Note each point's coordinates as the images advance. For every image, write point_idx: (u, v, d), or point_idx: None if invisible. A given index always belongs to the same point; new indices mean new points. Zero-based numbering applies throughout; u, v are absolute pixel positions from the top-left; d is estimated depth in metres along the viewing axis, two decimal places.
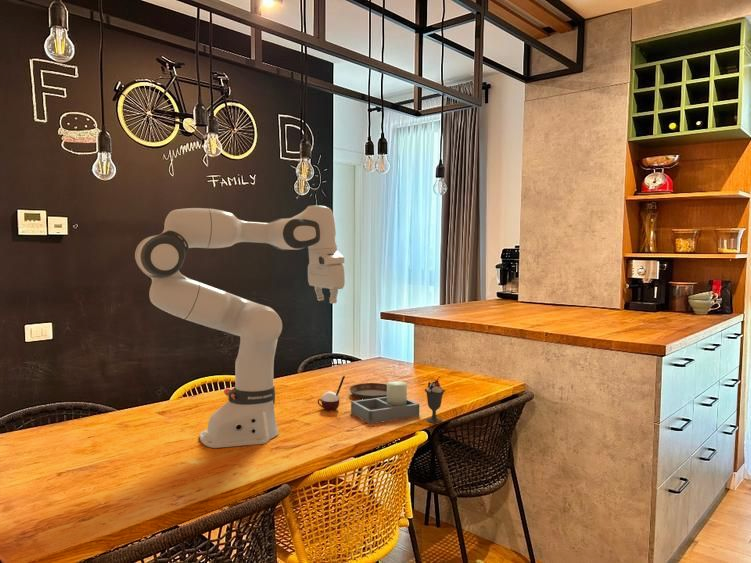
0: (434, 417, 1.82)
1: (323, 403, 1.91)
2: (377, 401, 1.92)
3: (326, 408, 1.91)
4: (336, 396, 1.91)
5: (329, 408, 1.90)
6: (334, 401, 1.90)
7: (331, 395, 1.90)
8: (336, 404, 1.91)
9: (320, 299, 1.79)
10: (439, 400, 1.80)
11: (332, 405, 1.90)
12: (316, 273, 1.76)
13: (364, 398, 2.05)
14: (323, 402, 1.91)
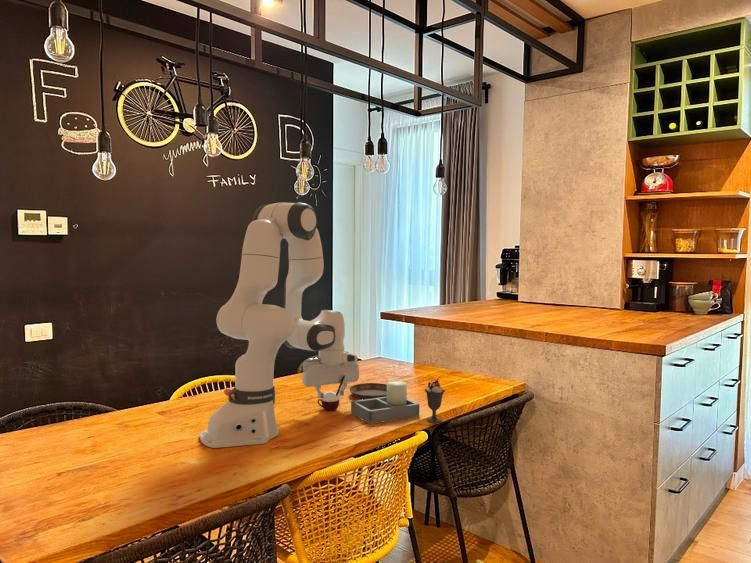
0: (434, 417, 1.82)
1: (323, 403, 1.91)
2: (377, 401, 1.92)
3: (326, 408, 1.91)
4: (336, 396, 1.91)
5: (329, 408, 1.90)
6: (334, 401, 1.90)
7: (331, 395, 1.90)
8: (336, 404, 1.91)
9: None
10: (439, 400, 1.80)
11: (332, 405, 1.90)
12: (325, 372, 1.89)
13: (364, 398, 2.05)
14: (323, 402, 1.91)
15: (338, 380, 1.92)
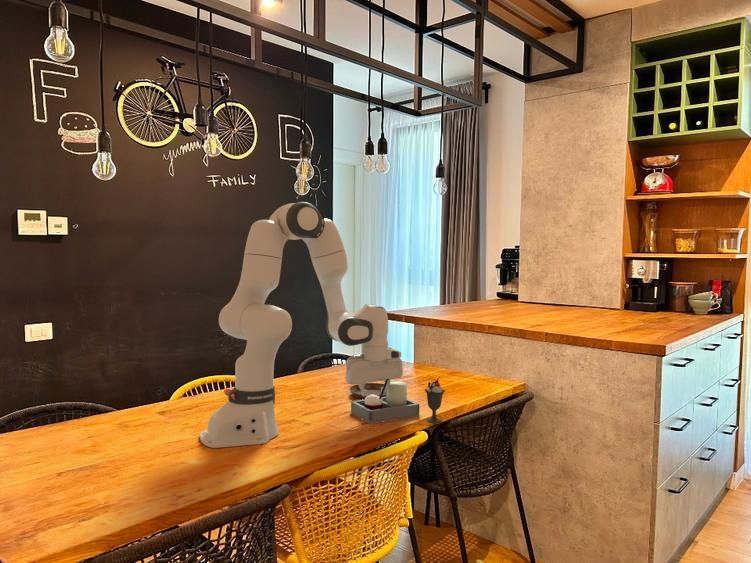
0: (434, 417, 1.82)
1: (366, 406, 1.84)
2: None
3: None
4: (379, 399, 1.84)
5: None
6: (377, 405, 1.83)
7: (374, 398, 1.83)
8: (379, 408, 1.84)
9: None
10: (439, 400, 1.80)
11: (375, 408, 1.83)
12: (369, 369, 1.83)
13: (364, 398, 2.05)
14: (366, 405, 1.84)
15: (382, 377, 1.85)
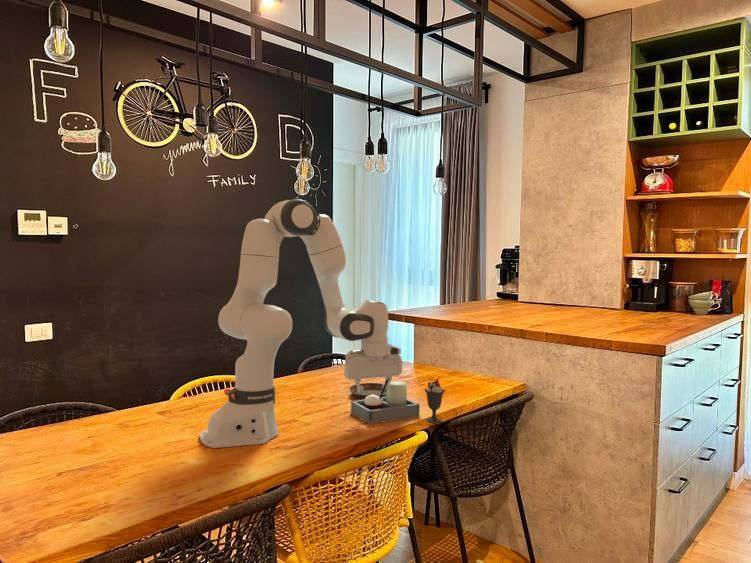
0: (434, 417, 1.82)
1: (366, 406, 1.84)
2: None
3: None
4: (379, 399, 1.84)
5: None
6: (377, 405, 1.83)
7: (374, 398, 1.83)
8: (379, 408, 1.84)
9: None
10: (439, 400, 1.80)
11: (375, 408, 1.83)
12: (368, 365, 1.82)
13: (364, 398, 2.05)
14: (366, 405, 1.84)
15: (381, 373, 1.84)
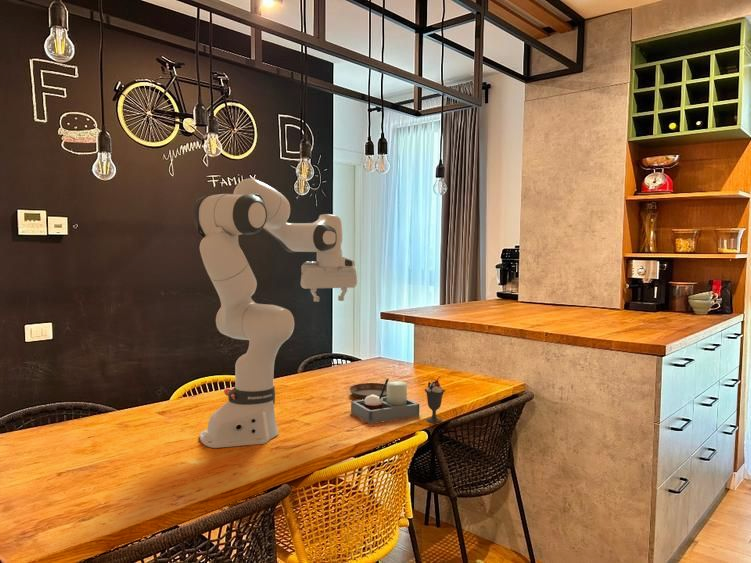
0: (434, 417, 1.82)
1: (366, 406, 1.84)
2: None
3: None
4: (379, 399, 1.84)
5: None
6: (377, 405, 1.83)
7: (374, 398, 1.83)
8: (379, 408, 1.84)
9: None
10: (439, 400, 1.80)
11: (375, 408, 1.83)
12: (323, 275, 1.92)
13: (364, 398, 2.05)
14: (366, 405, 1.84)
15: (336, 284, 1.95)
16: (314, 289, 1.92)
